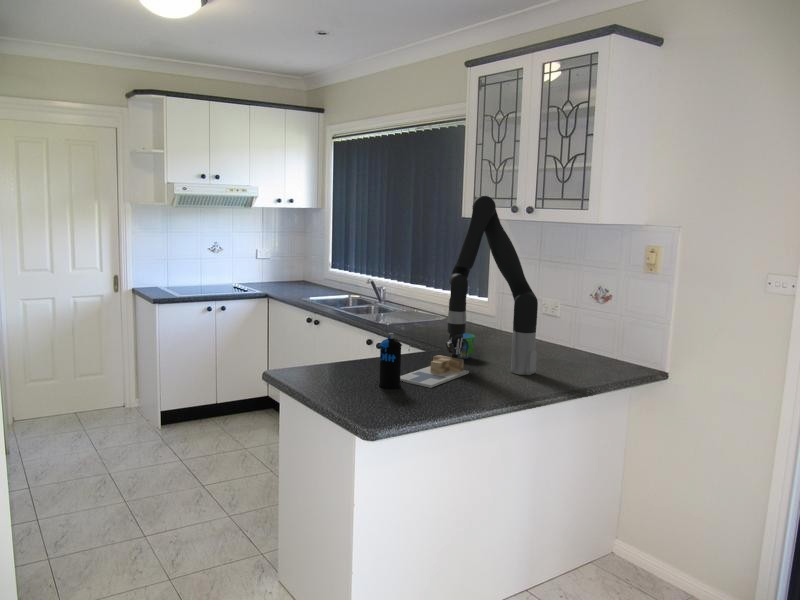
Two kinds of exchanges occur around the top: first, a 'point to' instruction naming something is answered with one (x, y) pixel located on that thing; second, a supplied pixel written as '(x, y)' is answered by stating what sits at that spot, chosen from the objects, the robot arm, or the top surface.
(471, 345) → the snack cup
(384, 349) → the aerosol can
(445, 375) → the mat
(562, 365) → the top surface
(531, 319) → the robot arm
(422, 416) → the top surface
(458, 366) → the t block
